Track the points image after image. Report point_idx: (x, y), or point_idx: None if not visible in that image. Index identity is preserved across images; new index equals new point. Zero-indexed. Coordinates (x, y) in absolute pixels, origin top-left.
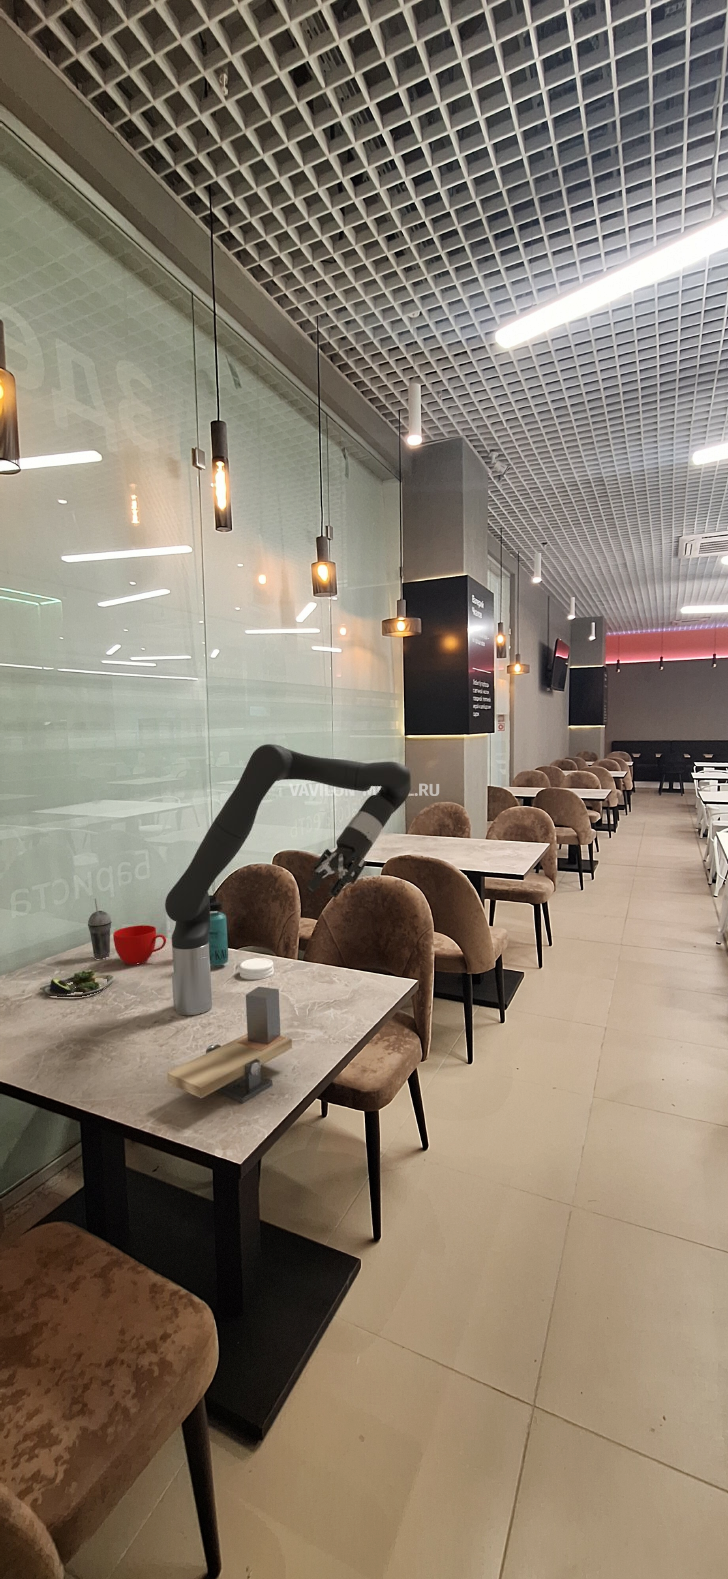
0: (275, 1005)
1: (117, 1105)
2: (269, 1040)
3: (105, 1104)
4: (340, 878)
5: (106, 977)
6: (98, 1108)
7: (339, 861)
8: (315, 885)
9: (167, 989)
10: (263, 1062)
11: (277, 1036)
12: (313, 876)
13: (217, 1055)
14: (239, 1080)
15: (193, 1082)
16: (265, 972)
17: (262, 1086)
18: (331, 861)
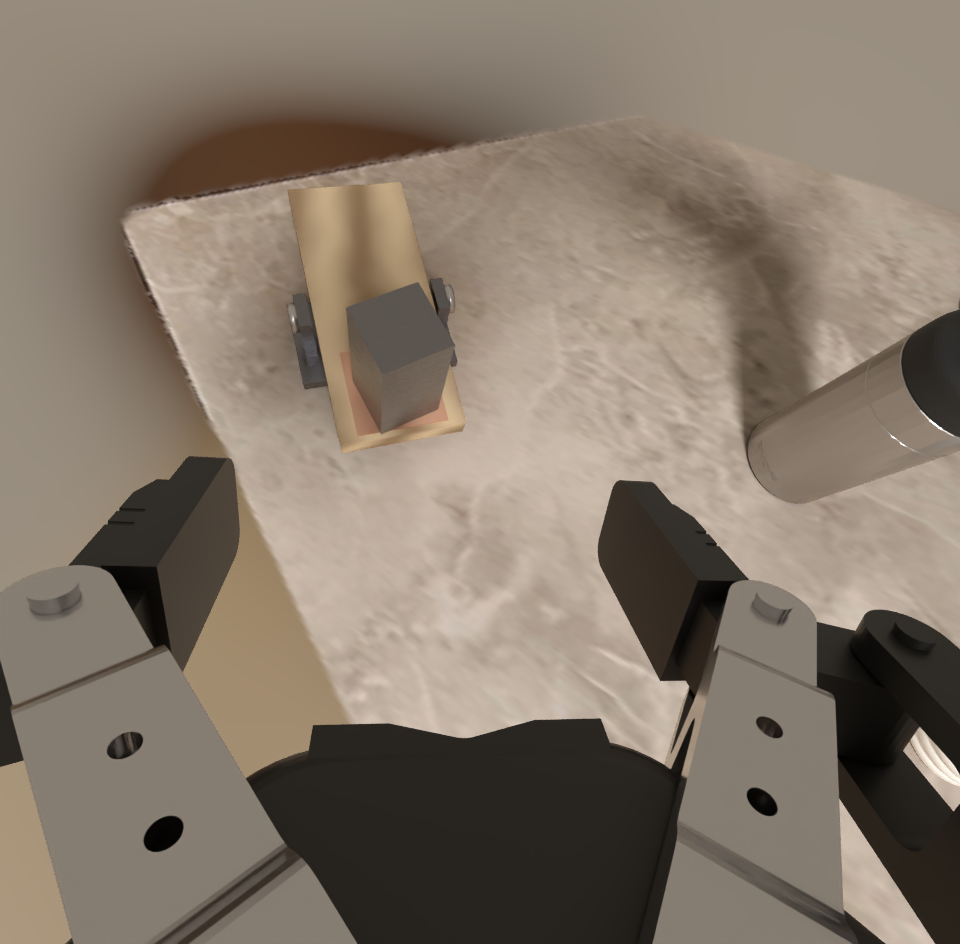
0: (371, 376)
1: (457, 178)
2: (355, 382)
3: (475, 168)
4: (51, 572)
5: None
6: (470, 157)
7: (250, 838)
8: (623, 562)
9: (939, 468)
10: (322, 359)
11: (373, 419)
12: (704, 543)
13: (397, 279)
14: None
15: (320, 192)
16: (922, 730)
17: (298, 356)
18: (669, 822)
